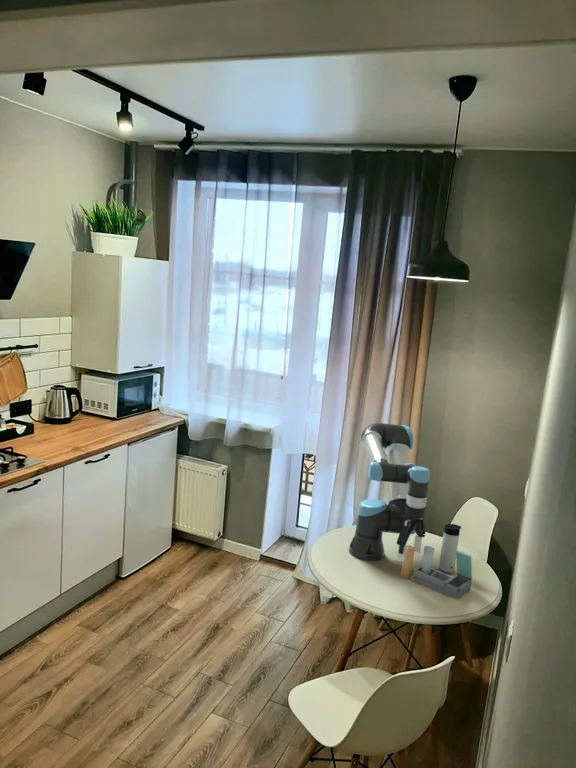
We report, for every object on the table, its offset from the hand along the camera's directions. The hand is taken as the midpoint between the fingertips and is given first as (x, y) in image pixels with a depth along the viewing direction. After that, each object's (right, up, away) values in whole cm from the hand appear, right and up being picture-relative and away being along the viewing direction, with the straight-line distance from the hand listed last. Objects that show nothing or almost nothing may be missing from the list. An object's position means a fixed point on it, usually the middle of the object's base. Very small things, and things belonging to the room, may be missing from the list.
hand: (408, 556), depth 230 cm
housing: (+12, -10, -3) cm, 16 cm away
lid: (+20, -2, -6) cm, 21 cm away
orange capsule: (-1, -8, +2) cm, 8 cm away
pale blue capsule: (+7, -9, +1) cm, 11 cm away
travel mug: (+18, -9, +10) cm, 22 cm away
